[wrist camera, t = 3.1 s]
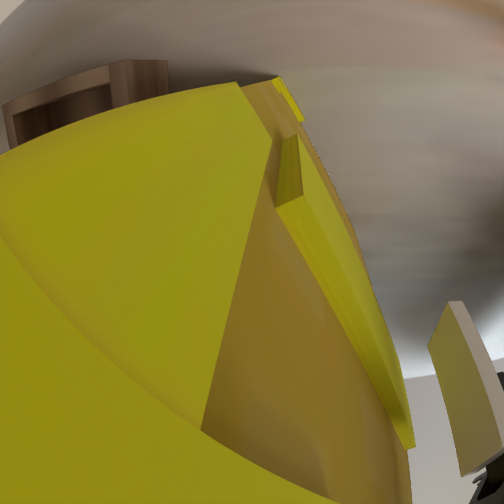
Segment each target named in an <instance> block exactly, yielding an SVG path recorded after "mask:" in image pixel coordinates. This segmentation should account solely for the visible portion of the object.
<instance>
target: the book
mask: <svg viewBox="0 0 504 504" xmlns="http://www.w3.org/2000/svg"><path fill="white" fill-rule="evenodd" d="M304 120H305V118H304V116H303V115H302V113H301V111H300V109H299V108H298V106H297V104H296V102H295V101H294V99H293V97H292V95H291V94H290V92H289V90H288V89H287V87H286V85H285V84H284V82H283V81H282V79H281V77H280V76H279V77H276V78H274V79H272V80H268V81H263V82H259V83H255V84H251V85H247V86H243V87H239V85H238V84H237V82H230V83H223V84H217V85H211V86H206V87H200V88H195V89H190V90H185V91H181V92H176V93H172V94H167V95H163V96H159V97H155V98H151V99H147V100H143V101H139V102H136V103H132V104H129V105H125V106H122V107H119V108H115V109H112V110H109V111H106V112H103V113H100V114H97V115H94V116H91V117H88V118H85V119H82V120H80V121H77V122H74V123H71V124H69V125H66V126H64V127H61V128H59V129H56V130H54V131H51V132H49V133H46V134H44V135H42V136H39V137H37V138H35V139H33V140H30V141H28V142H26V143H24V144H22V145H20V146H18V147H15V148H13V149H11V150H9V151H7V152H5V153H3V154H1V155H0V504H412V492H411V482H410V471H409V463H408V454H407V450H408V449H411V448H414V447H416V445H415V438H414V432H413V427H412V420H411V415H410V409H409V404H408V399H407V394H406V390H405V385H404V380H403V376H402V371H401V367H400V363H399V359H398V356H397V353H396V350H395V348H394V345H393V342H392V339H391V336H390V334H389V331H388V328H387V326H386V323H385V320H384V318H383V315H382V312H381V310H380V307H379V305H378V302H377V300H376V297H375V295H374V292H373V288H372V285H371V282H370V278H369V275H368V272H367V268H366V265H365V262H364V259H363V256H362V252H361V249H360V246H359V243H358V240H357V237H356V234H355V231H354V229H353V227H352V224H351V222H350V220H349V218H348V216H347V213H346V211H345V209H344V207H343V205H342V203H341V201H340V199H339V196H338V194H337V192H336V190H335V188H334V186H333V184H332V182H331V180H330V178H329V176H328V174H327V172H326V170H325V168H324V166H323V164H322V162H321V160H320V158H319V157H318V155H317V153H316V151H315V149H314V147H313V145H312V143H311V142H310V140H309V138H308V136H307V134H306V132H305V131H304V129H303V127H302V125H301V123H300V122H302V121H304Z"/></svg>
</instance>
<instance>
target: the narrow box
mask: <svg viewBox="0 0 504 504" xmlns="http://www.w3.org/2000/svg"><path fill="white" fill-rule="evenodd" d="M167 94H170V93H169V82H168V71H167V61H166V60H123V61H119V62H115V63H112V64H108V65H105V66H101V67H98V68H95V69H91V70H88V71H85V72H82V73H79V74H76V75H73V76H70V77H68V78H65V79H62V80H59V81H57V82H54V83H52V84H49V85H47V86H44V87H42V88H39V89H37V90H35V91H32V92H30V93H28V94H26V95H23V96H21V97H19V98H17V99H15V100H13V101H11V102H8V103H6V104H4V105H2V108H3V114H4V120H5V126H6V132H7V137H8V142H9V146H10V150H11V149H13V148H15V147H18V146H20V145H22V144H24V143H26V142H28V141H30V140H33V139H35V138H37V137H39V136H42V135H44V134H46V133H49V132H51V131H54V130H56V129H59V128H61V127H64V126H66V125H69V124H71V123H74V122H77V121H80V120H82V119H85V118H88V117H91V116H94V115H97V114H100V113H103V112H106V111H109V110H112V109H115V108H119V107H122V106H125V105H129V104H132V103H136V102H139V101H143V100H147V99H151V98H155V97H159V96H163V95H167Z"/></svg>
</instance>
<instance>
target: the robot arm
mask: <svg viewBox="0 0 504 504" xmlns="http://www.w3.org/2000/svg"><path fill="white" fill-rule="evenodd" d="M427 347H428V350H429V353H430V356H431V359H432V362H433V365H434V368H435V371H436V374H437V377H438V381H439V384H440V387H441V391H442V394H443V398H444V402H445V405H446V409H447V413H448V417H449V421H450V425H451V429H452V434H453V438H454V443H455V448H456V453H457V457H458V463H459V468H460V474H461V477H464V476H467V475H470V474H473V473H476V472H478V471H480V470H481V469H483V468H484V467H486V472H484V473H482V474H481V475H479V476H478V477H477V478H475V479H474V481H473V484H474V483H476V482H478V481H479V480H481V481H480V482H479V483H478V484H477V485H478V487H477V489H476V491H475V493H474V495H473V497H472V499H471V501H470V503H469V504H504V373H503V372H499V373H496V371H495V368H494V366H493V364H492V361H491V359H490V357H489V354H488V352H487V350H486V348H485V346H484V343H483V341H482V339H481V337H480V335H479V333H478V331H477V329H476V327H475V325H474V323H473V321H472V319H471V317H470V315H469V313H468V311H467V309H466V307H465V305H464V303H463V301H448V302H447V304H446V307H445V309H444V311H443V314H442V316H441V318H440V320H439V323H438V325H437V327H436V329H435V331H434V333H433V335H432V337H431V340H430V342H429V344H428V346H427Z"/></svg>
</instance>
